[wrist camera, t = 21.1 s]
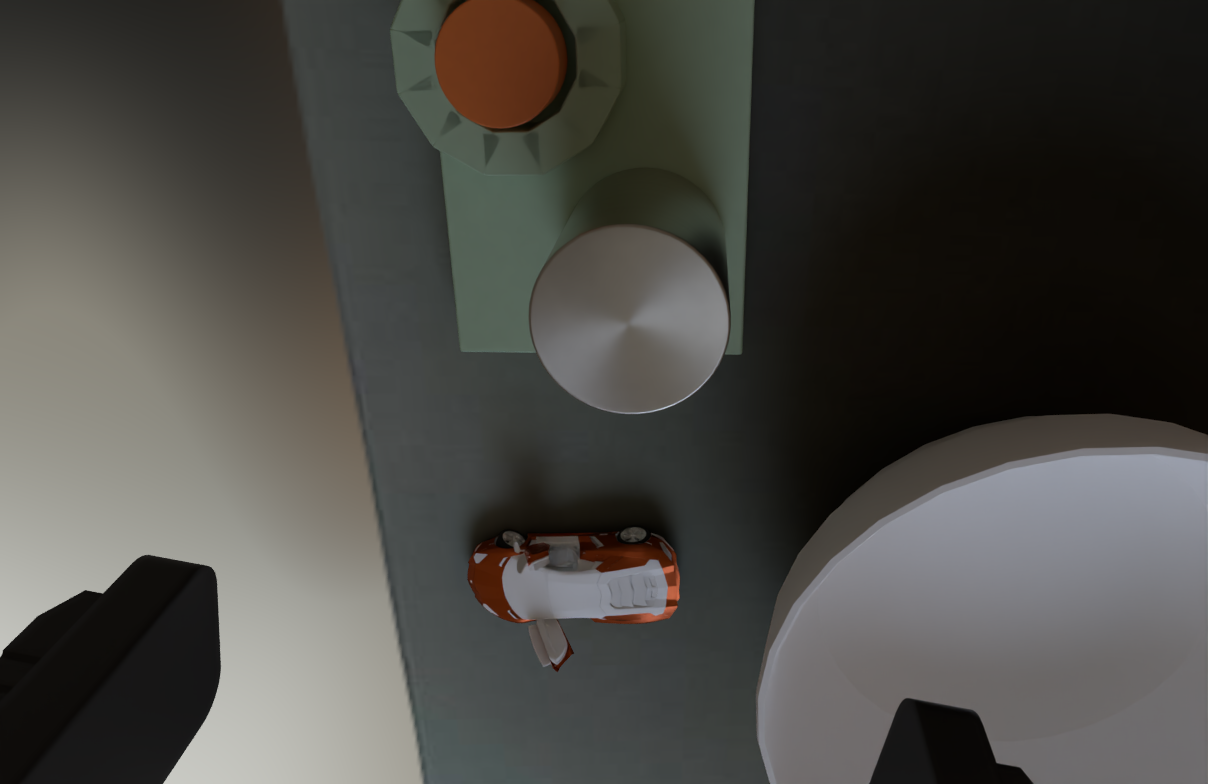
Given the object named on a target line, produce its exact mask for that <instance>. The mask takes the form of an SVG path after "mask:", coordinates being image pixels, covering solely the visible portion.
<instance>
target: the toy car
mask: <svg viewBox="0 0 1208 784" xmlns="http://www.w3.org/2000/svg"><path fill="white" fill-rule="evenodd" d="M651 534H652V535H651V537H650V533H649V531H648V530H647V529H646V528H643V527H640V526H631V527H627V528H624V529H622V530H621V531H620V532H619V531H616V532H599V533H545V534H537V533H527V535H528V538H527V540H526V538H525V537H524V536H523V535H522V534H520V533H519V532H517V531H514V530H504V531H502V532H501V533H500V534H499V536H497V537H494V538H492V539H489V540H487V541H484V542H482V543H480V544H478V545H477V546H476V548H475V550H474V552H473V554H472V556H471V558H470V560H469V562H468V563H469V568H468V582H469V584H470V586H471V588H472V590H473V592H474V593H475V597H476V599H477V600H478V601H479V603H480V604H481V605H482V606H483V607H484V608H485V609H486V610H487V611H489V612H491V613H492V614H494V615H496V616H498V617H499V618H502V619H504V620H507V621H511V622H515V623H526V622H531V621H535V620H537V622H536V624H535V625H530V626H528V629H529V634H530V638H531V642H532V645H533V647H534V650H535V652H536V654H537V656H538V658H539V660H540V662H541V664H542V665H543V667H544V666H547V665H549V664H551V665H552V667H553V668H554V670H555V671H557V672H558V670H559V668H560V667H561V665H562V664H563V663H564V662H565V661H566V660H567V659H568V658H569V657H570V656H571V655H572V654H574V652H573V650H572V648H571V646H570V644H569V642H568V640H567V638H566V636H565V634H564V632H563V630H562V628H561V626H560V624H559V622H558V620H557V619H561V618H591V619H592V620H593V621H594V622H600V623H618V624H641V623H650V622H655V621H659V620H663V619H668V618H670V616H671V615H672V614H673V612H674V611H675V610H676V608H677V607H678V604H677V600H678V599H679V598H680V595H679V584H680V575H679V569H678V566H677V563H676V553H675V552H674V549H673V548H672V547H671V546H670V545H669V544H668V543H667V542H666V541H665V539H664V538H663V537H661V536H659V535H656V534H653V533H651ZM637 539H638V540H637ZM656 584H657V585H656ZM657 587H658V589H657Z"/></svg>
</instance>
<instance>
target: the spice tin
mask: <svg viewBox="0 0 1208 784" xmlns="http://www.w3.org/2000/svg"><path fill="white" fill-rule="evenodd" d="M528 319H529V330H530V335H531V339H532V343H533V346H534V348H535V351H536V354H537V356H538V358H539V359H540V361H541V363H542V365H543V367H544V368H545V369H546V371H547V372H548V374H549V375H550V376H551V377H552V378H553V379H554V381H555V382H556V383H557V384H558V385H559V386H560V387H562V388H563V389H564V390H565V391H566V392H567V393H569V394H570V395H572V396H573V397H575V398H576V399H578V400H580V401H582V402H584V403H585V404H587V405H589V406H592V407H595V408H598V409H600V410H604V411H608V412H613V413H620V414H644V413H652V412H656V411H660V410H664V409H666V408H669V407H672V406H674V405H676V404H678V403H680V402H682V401H684V400H686V399H687V398H689V397H690V396H692V395H693V394H695V393H696V392H697V391H698V390H699V389H700V388H702V387H703V386H704V385H705V384H706V383H707V382H708V380H709V379H710V378H711V377H712V376H713V374H714V373H715V371H716V370H717V368H718V367H719V365H720V363H721V361H722V359H723V357H724V354H725V352H726V349H727V345H728V342H729V337H730V330H731V310H730V296H729V281H728V267H727V252H726V240H725V232H724V228H723V225H722V221H721V219H720V216H719V214H718V212H717V210H716V208H715V207H714V205H713V203H712V202H711V201H710V199H709V198H708V197H707V196H706V194H705V193H704V192H703V191H701V190H700V189H699V188H698V187H697V186H696V185H695V184H693V183H692V182H690V181H689V180H687V179H685V178H684V177H682V176H680V175H678V174H675V173H672V172H670V171H666V170H662V169H656V168H634V169H628V170H624V171H620V172H617V173H614V174H612V175H610V176H608V177H606V178H604V179H603V180H601V181H599V182H598V183H596V184H595V185H594V186H593V187H592V188H590V189H589V190H588V191H587V192H586V193H585V195H584V196H583V197H582V198H581V199H580V201H579V202H578V204H577V205H576V207H575V209H574V210H573V212H572V214H571V216H570V218H569V220H568V221H567V223H566V225H565V227H564V229H563V231H562V233H561V234H560V236H559V238H558V240H557V242H556V244H555V245H554V247H553V249H552V251H551V253H550V255H549V257H548V258H547V260H546V262H545V264H544V266H543V268H542V269H541V271H540V273H539V275H538V277H537V279H536V281H535V284H534V287H533V290H532V293H531V298H530V303H529V317H528Z"/></svg>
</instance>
